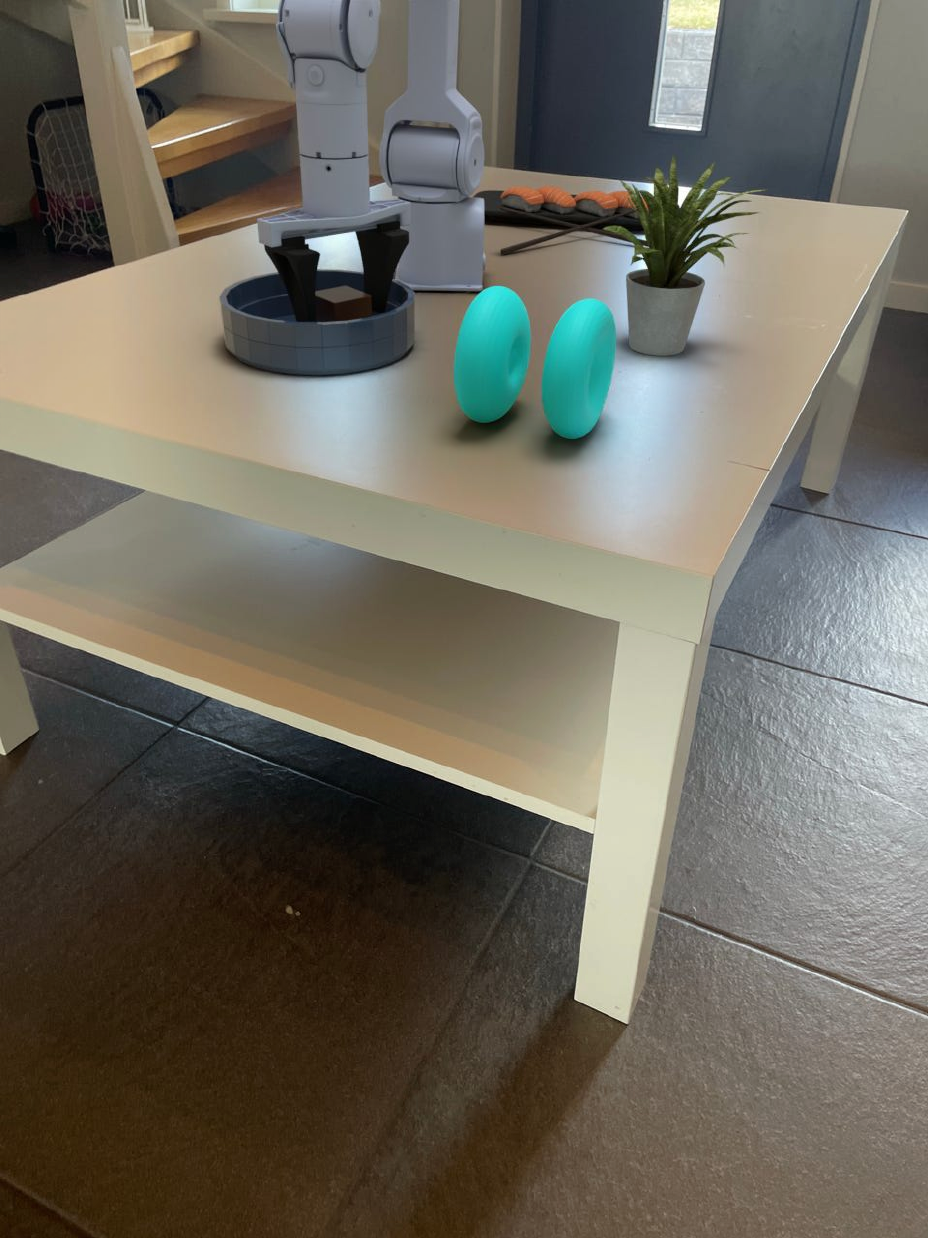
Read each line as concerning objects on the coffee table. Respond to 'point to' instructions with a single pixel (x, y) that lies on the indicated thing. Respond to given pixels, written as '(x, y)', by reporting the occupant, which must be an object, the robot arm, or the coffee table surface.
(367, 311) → the block
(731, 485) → the coffee table surface
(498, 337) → the donuts
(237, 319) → the bowl
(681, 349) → the house plant
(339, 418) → the coffee table surface
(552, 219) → the sushi plate
